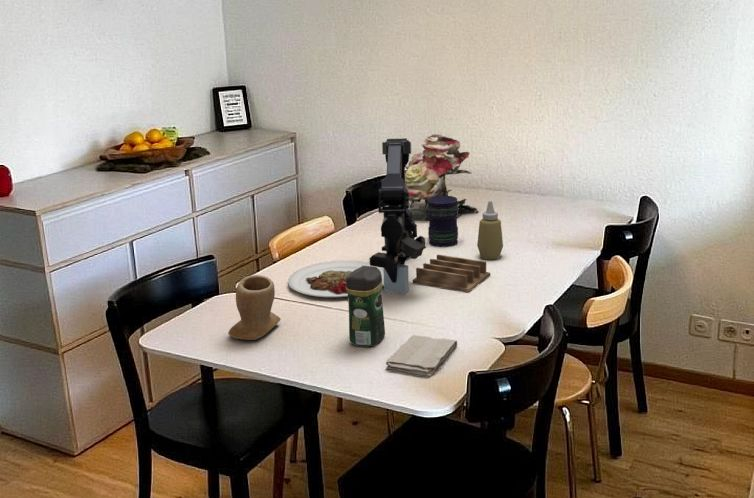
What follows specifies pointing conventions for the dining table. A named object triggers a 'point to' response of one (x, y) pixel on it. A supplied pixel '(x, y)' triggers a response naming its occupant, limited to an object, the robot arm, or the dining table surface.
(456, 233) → the storage jar
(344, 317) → the dining table surface
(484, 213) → the squeeze bottle
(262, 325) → the stone cup
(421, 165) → the rose bouquet
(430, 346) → the washcloth
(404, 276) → the plate tile
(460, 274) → the dish rack
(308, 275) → the plated food
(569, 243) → the dining table surface
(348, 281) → the coffee jar
